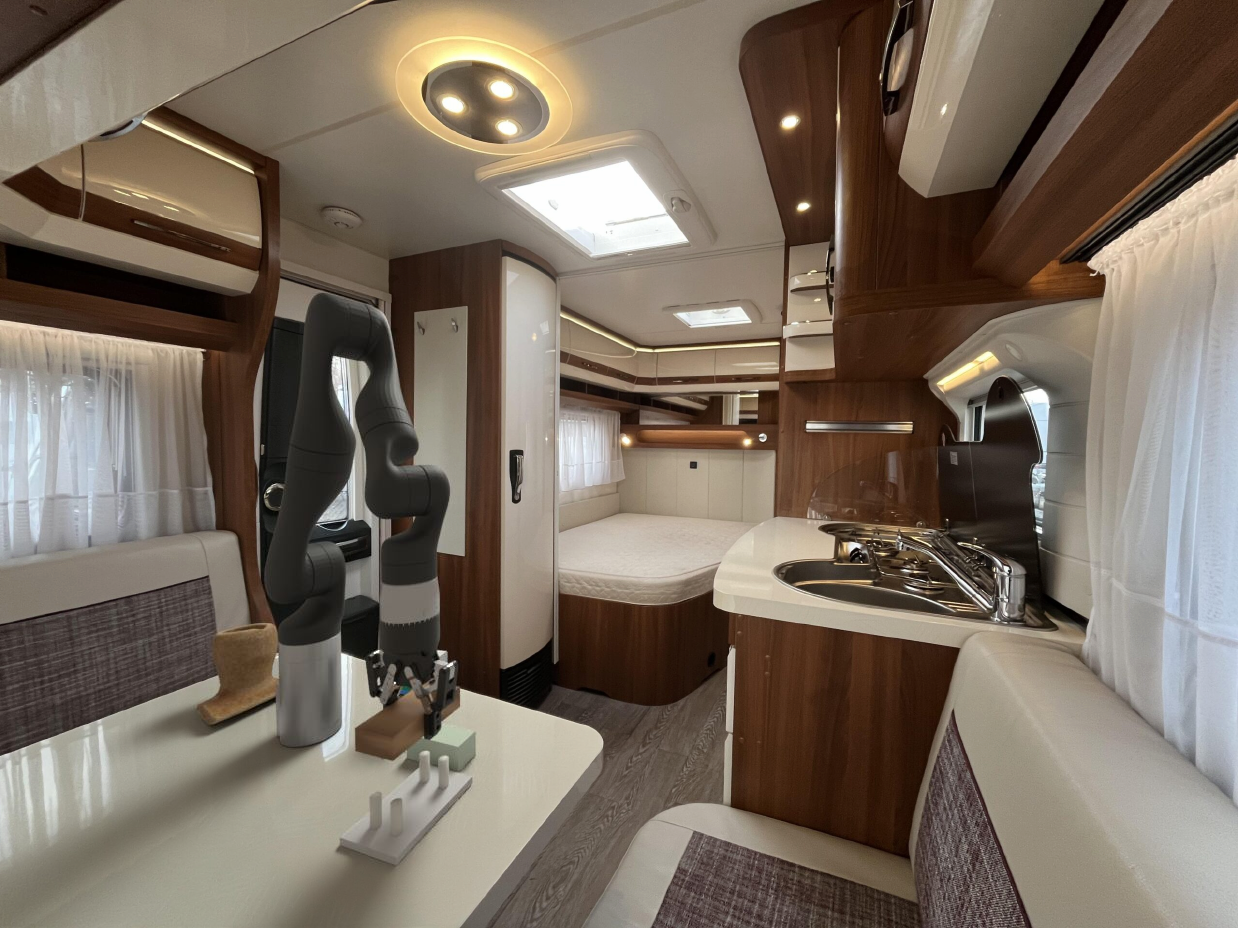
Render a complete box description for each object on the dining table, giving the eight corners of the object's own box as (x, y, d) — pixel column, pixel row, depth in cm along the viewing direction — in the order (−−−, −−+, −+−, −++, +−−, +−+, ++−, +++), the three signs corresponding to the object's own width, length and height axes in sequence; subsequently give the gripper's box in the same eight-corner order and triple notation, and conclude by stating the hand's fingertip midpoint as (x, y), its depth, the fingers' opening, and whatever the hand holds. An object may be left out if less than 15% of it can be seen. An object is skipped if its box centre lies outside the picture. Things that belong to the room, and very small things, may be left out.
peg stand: (339, 844, 60) (339, 806, 60) (423, 769, 75) (423, 738, 74) (396, 865, 58) (396, 825, 57) (472, 782, 72) (472, 750, 72)
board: (427, 699, 73) (426, 680, 73) (460, 706, 71) (459, 686, 71) (355, 751, 60) (354, 727, 60) (393, 760, 59) (392, 737, 58)
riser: (406, 757, 77) (406, 733, 77) (425, 742, 82) (425, 719, 81) (458, 771, 74) (458, 746, 74) (475, 754, 78) (475, 730, 78)
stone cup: (263, 681, 102) (261, 612, 102) (301, 692, 98) (299, 619, 97) (175, 718, 88) (173, 638, 88) (215, 733, 84) (213, 649, 83)
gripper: (471, 608, 66) (472, 726, 67) (389, 597, 71) (391, 708, 72) (434, 627, 59) (436, 759, 60) (346, 614, 64) (348, 737, 65)
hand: (411, 731), depth 66 cm, fingers closed on board, 6 cm apart
